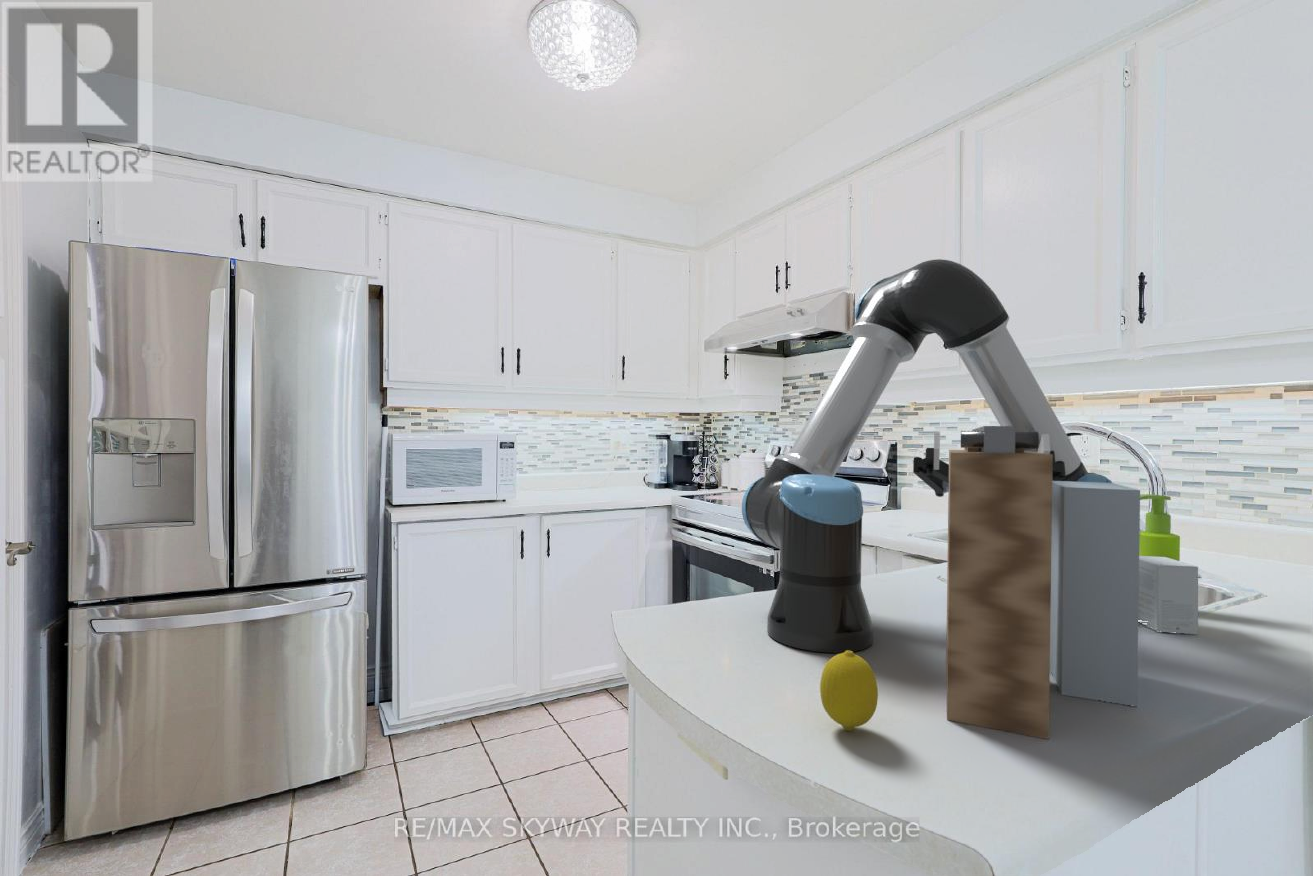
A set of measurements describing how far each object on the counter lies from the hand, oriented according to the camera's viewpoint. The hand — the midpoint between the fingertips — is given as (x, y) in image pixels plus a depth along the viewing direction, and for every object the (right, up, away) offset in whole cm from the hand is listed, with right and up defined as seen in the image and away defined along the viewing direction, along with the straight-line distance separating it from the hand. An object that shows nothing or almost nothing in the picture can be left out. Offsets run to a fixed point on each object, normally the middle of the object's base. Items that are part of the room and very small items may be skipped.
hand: (989, 441), depth 85 cm
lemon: (-28, -29, -25) cm, 47 cm away
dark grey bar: (-6, -1, -11) cm, 12 cm away
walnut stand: (-9, -29, -16) cm, 34 cm away
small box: (+33, -30, +10) cm, 46 cm away
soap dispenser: (+40, -30, +20) cm, 54 cm away
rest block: (+5, -29, -12) cm, 32 cm away
